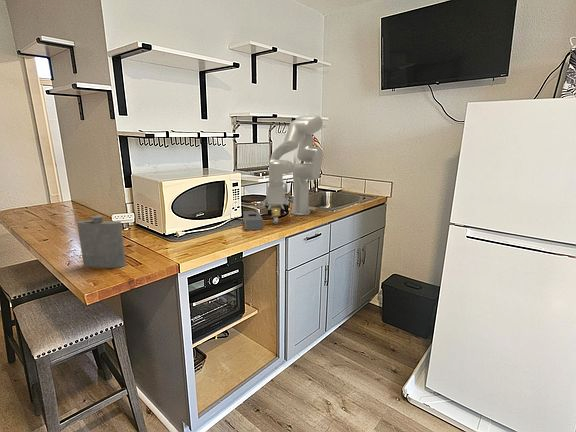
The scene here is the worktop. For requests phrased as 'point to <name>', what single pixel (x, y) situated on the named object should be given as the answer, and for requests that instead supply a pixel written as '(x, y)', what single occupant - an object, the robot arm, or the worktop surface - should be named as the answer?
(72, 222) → the worktop surface
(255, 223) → the gray slotted box
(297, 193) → the robot arm
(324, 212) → the worktop surface
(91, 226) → the hip flask
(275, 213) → the light bulb
